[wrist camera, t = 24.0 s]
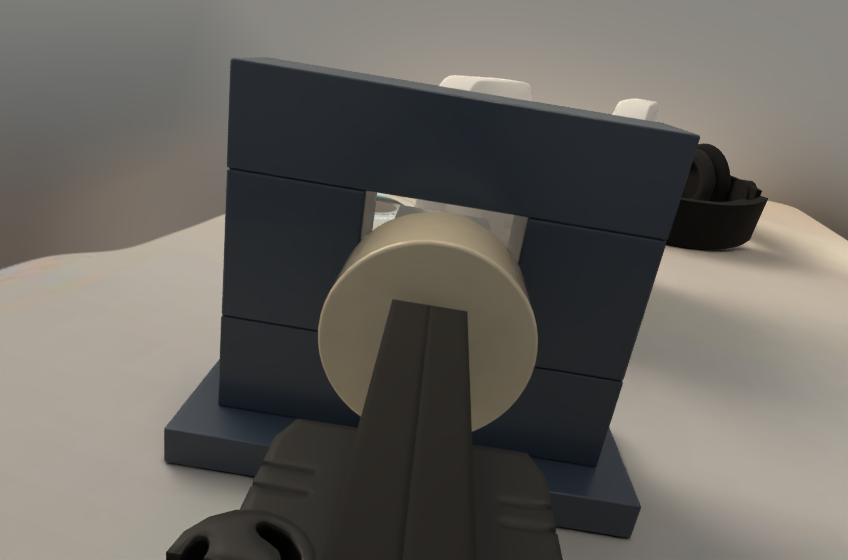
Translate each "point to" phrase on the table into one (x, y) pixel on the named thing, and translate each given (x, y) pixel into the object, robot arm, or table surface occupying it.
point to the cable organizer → (522, 90)
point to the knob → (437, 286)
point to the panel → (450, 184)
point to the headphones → (715, 205)
